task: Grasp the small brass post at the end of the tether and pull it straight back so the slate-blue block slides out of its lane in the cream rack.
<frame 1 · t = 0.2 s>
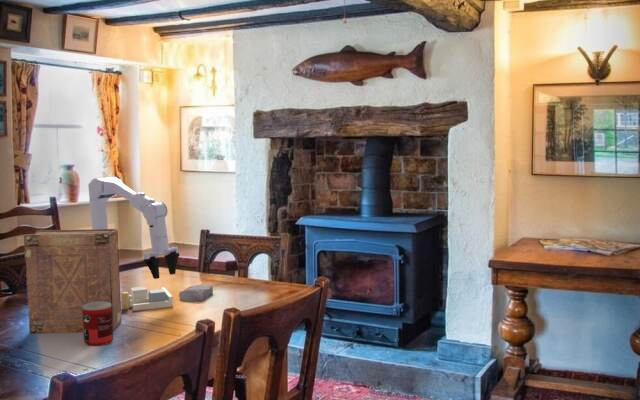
hand: (164, 276, 228), 10 cm above the table, tool pointing down, fingers open, 7 cm apart
canned food: (98, 342, 190), on the table
book: (76, 328, 204), on the table
lane rack: (147, 303, 232), on the table
cream cube: (139, 302, 235), on the table
tethered block: (157, 305, 230), resting in lane rack
stone block: (195, 297, 242), on the table
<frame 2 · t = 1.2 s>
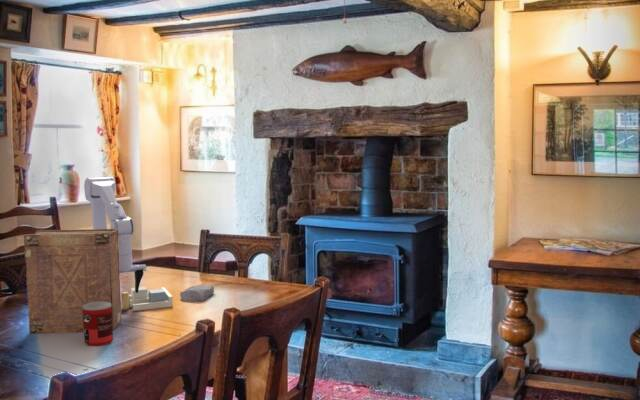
hand: (125, 293, 225), 5 cm above the table, tool pointing down, fingers open, 7 cm apart
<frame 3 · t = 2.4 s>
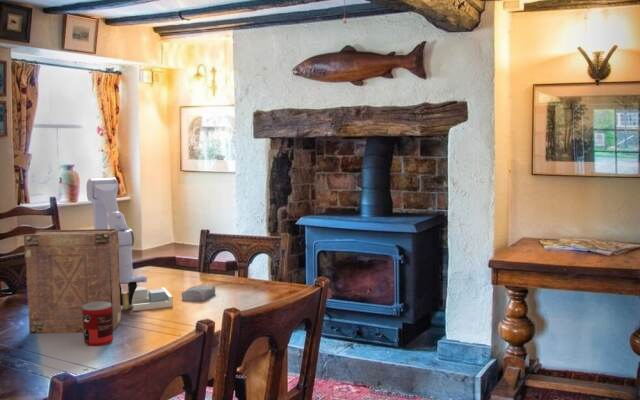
hand: (125, 304, 226), 1 cm above the table, tool pointing down, fingers closed on tethered block, 2 cm apart
tethered block: (157, 305, 230), resting in lane rack, touching gripper
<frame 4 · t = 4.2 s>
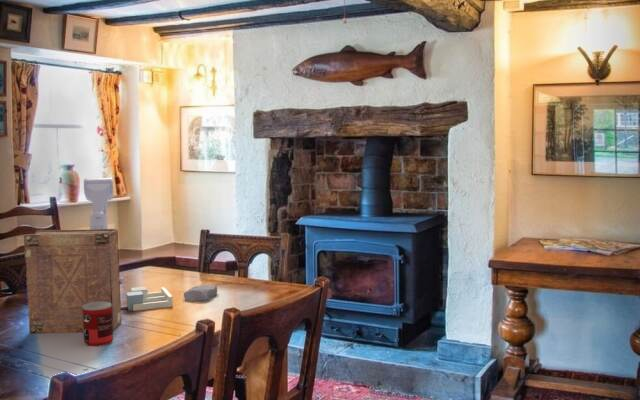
hand: (102, 306, 223), 2 cm above the table, tool pointing down, fingers closed on tethered block, 2 cm apart
tethered block: (135, 307, 227), on the table, touching gripper
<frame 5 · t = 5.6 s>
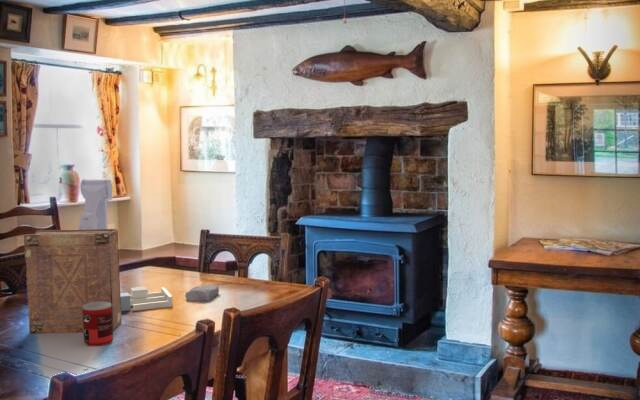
hand: (88, 308, 221), 2 cm above the table, tool pointing down, fingers closed on tethered block, 2 cm apart
tethered block: (122, 309, 225), on the table, touching gripper
when the fingers open (2 cm above the table, at t = 6.0 s): tethered block stays where it is, on the table.
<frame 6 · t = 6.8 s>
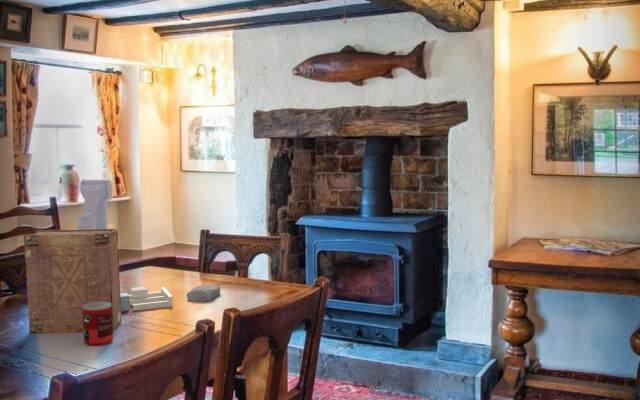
hand: (87, 308, 221), 2 cm above the table, tool pointing down, fingers open, 7 cm apart
tethered block: (121, 309, 225), on the table
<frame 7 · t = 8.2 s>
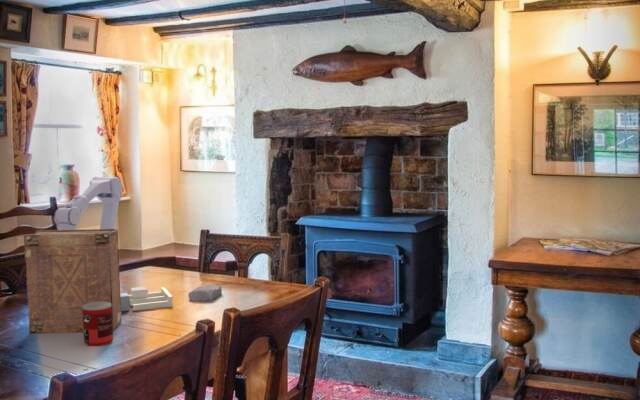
hand: (70, 282, 225), 9 cm above the table, tool pointing down, fingers open, 7 cm apart
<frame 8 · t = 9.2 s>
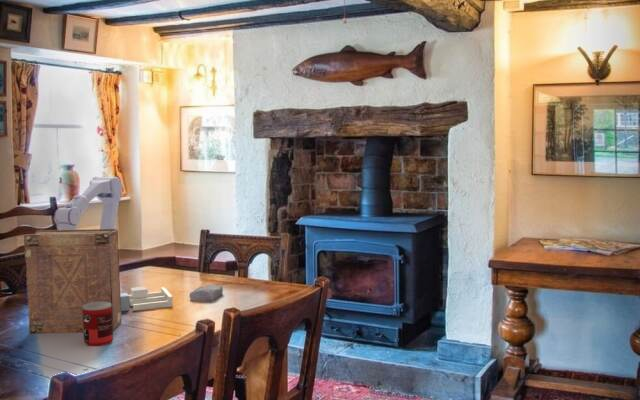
hand: (70, 282, 225), 9 cm above the table, tool pointing down, fingers open, 7 cm apart
at the end: tethered block inside the target area (2.7 cm from its centre), on the table; tethered block moved 12.3 cm from its start; the gripper is holding nothing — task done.
